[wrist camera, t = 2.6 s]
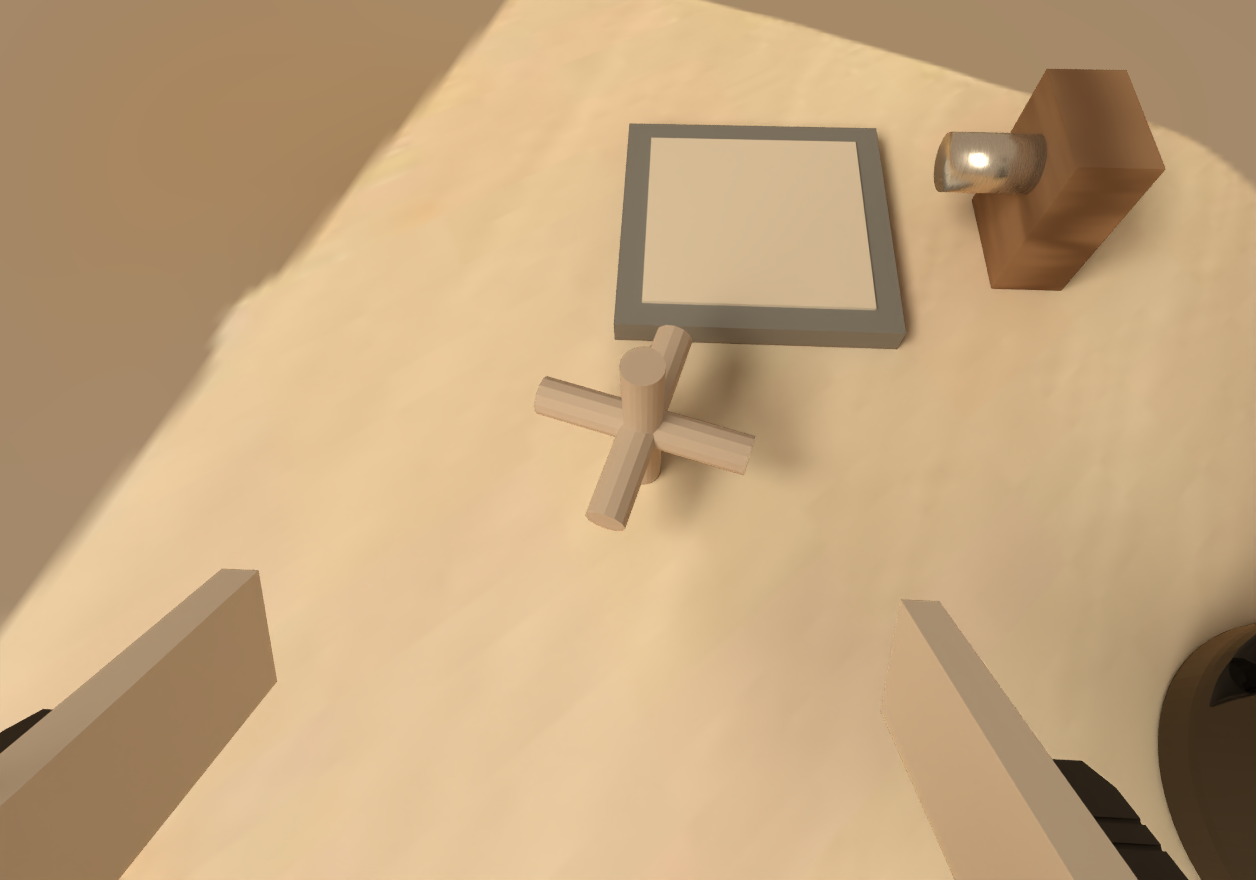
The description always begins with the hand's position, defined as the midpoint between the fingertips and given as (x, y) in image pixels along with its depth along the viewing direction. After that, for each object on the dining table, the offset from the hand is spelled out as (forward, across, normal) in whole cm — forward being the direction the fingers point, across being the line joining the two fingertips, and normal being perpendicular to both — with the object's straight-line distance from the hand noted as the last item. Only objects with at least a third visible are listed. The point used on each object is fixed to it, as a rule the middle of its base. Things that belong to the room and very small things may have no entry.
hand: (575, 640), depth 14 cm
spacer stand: (+33, +12, +7) cm, 35 cm away
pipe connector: (+22, +1, -5) cm, 22 cm away
